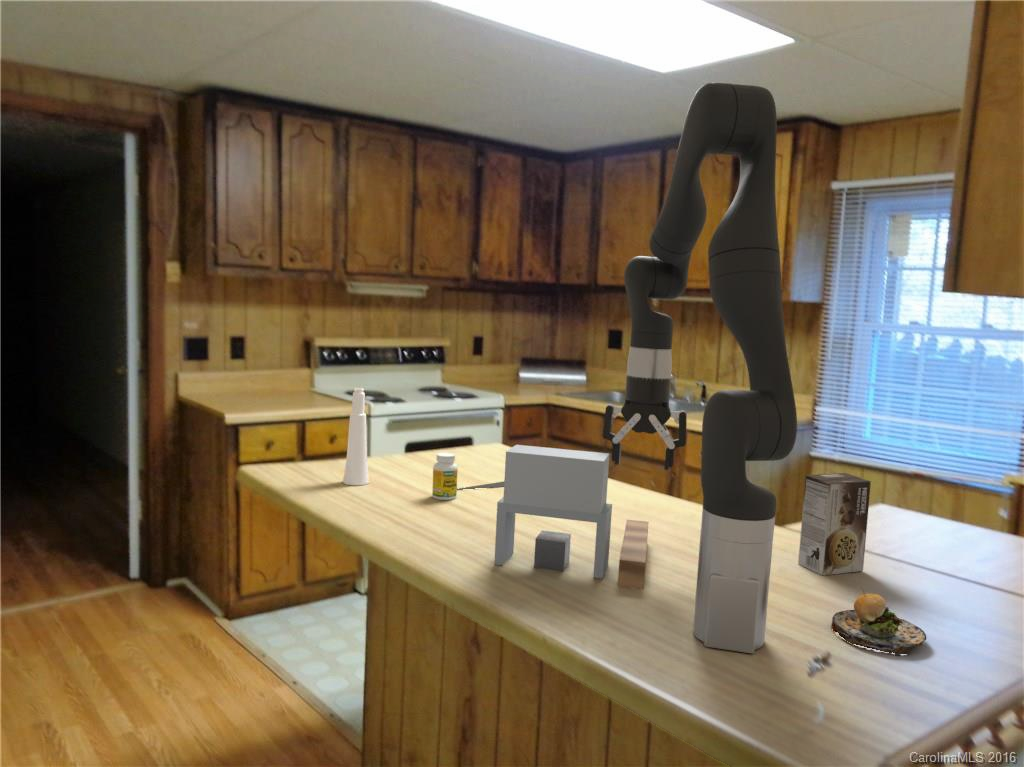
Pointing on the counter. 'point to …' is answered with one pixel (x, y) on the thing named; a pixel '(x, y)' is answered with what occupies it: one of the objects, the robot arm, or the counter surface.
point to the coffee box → (834, 523)
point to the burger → (876, 626)
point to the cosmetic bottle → (357, 443)
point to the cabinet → (555, 494)
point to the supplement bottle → (445, 477)
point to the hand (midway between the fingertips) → (642, 466)
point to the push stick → (633, 554)
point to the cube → (552, 550)
